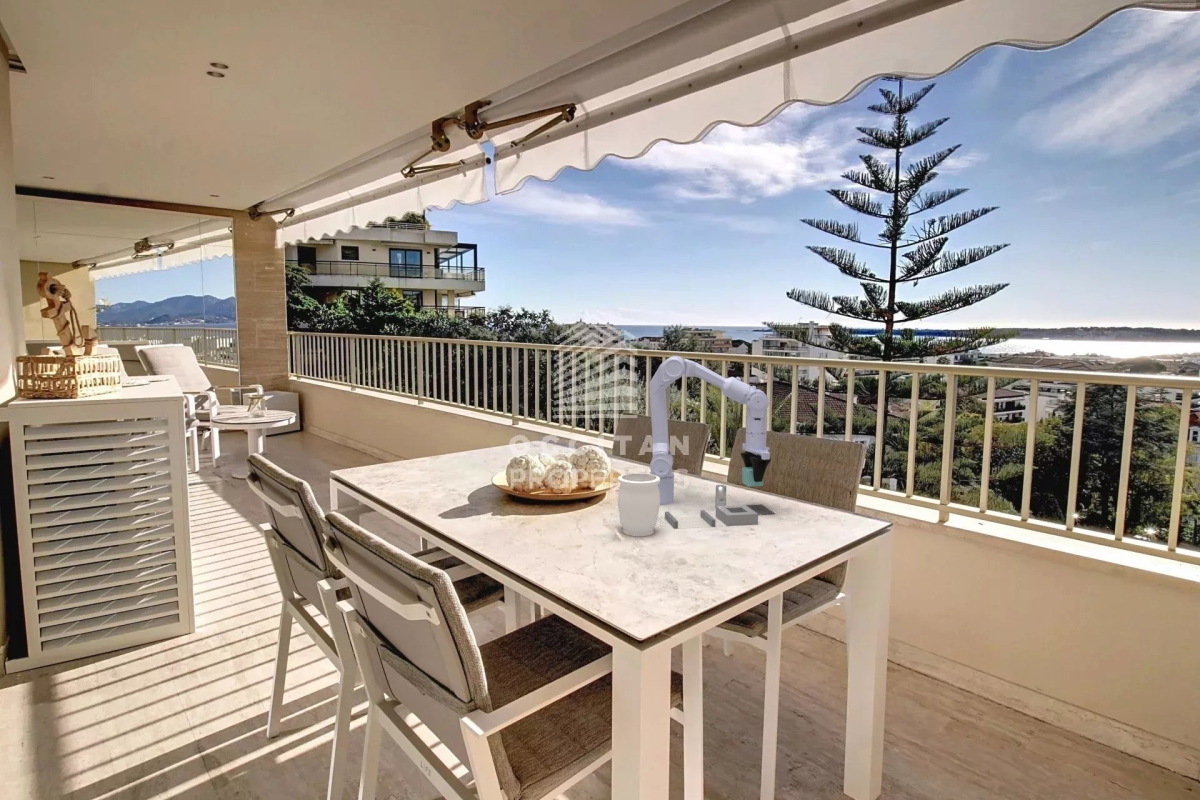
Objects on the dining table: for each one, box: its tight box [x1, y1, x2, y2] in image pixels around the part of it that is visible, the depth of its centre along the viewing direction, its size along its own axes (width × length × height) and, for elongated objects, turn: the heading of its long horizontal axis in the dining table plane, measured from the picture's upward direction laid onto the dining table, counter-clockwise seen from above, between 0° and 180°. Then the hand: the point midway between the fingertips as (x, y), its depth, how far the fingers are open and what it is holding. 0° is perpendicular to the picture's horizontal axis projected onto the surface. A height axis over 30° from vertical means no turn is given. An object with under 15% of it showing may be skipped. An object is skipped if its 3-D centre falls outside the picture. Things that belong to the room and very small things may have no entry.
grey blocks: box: [664, 504, 759, 530], centre depth 169 cm, size 24×14×4 cm, turn 100°
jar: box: [617, 472, 660, 537], centre depth 159 cm, size 11×10×15 cm
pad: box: [745, 503, 776, 516], centre depth 183 cm, size 9×9×1 cm
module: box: [741, 466, 764, 488], centre depth 182 cm, size 4×4×4 cm
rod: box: [714, 484, 727, 509], centre depth 181 cm, size 3×3×8 cm
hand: (754, 479), depth 182 cm, fingers closed on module, 4 cm apart
